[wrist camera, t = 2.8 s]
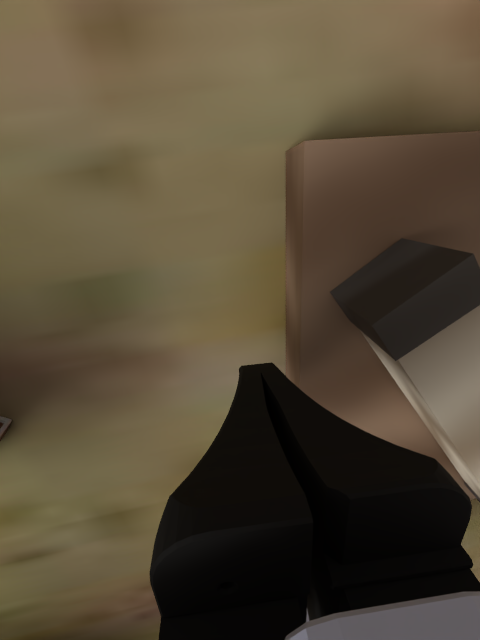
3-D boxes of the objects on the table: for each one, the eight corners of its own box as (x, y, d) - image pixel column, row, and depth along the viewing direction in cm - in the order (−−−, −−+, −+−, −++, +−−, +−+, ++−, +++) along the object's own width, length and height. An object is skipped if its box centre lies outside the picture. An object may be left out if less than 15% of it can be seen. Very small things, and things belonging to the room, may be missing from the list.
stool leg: (524, 469, 17) (591, 527, 14) (473, 497, 17) (527, 559, 14) (401, 238, 11) (473, 253, 8) (329, 292, 11) (372, 325, 8)
